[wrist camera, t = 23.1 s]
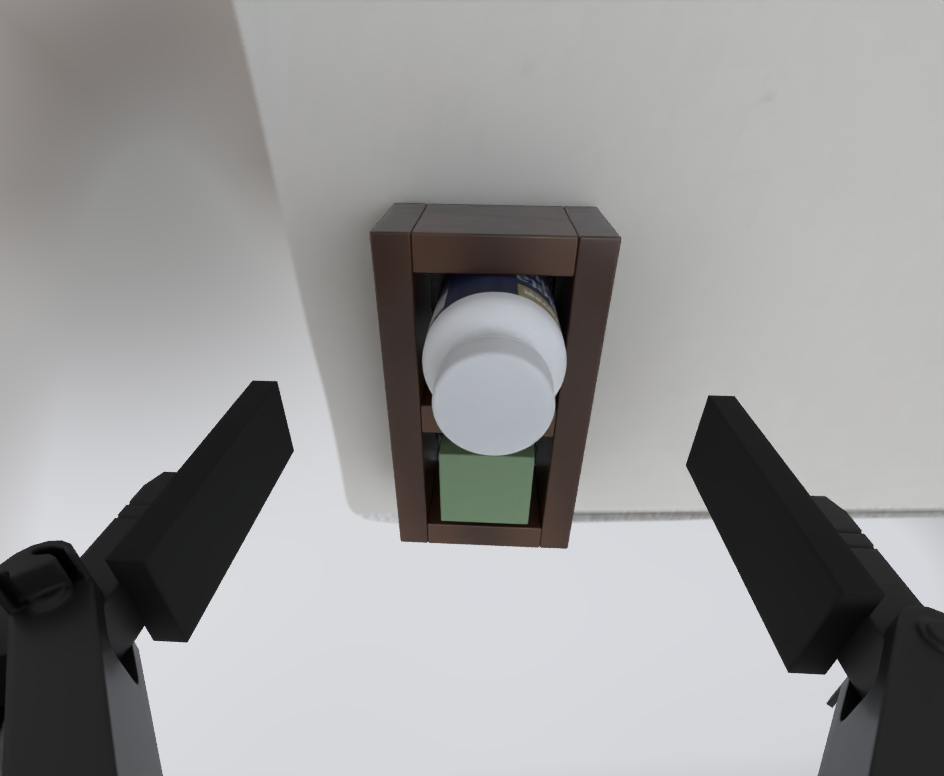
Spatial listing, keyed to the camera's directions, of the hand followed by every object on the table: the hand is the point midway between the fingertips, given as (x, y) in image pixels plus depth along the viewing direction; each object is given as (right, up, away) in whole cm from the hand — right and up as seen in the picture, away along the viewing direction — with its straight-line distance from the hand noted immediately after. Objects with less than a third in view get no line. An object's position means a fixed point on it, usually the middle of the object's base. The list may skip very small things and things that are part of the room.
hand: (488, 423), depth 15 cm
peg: (0, -1, +13) cm, 13 cm away
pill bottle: (+1, +6, +9) cm, 10 cm away
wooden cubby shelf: (0, +2, +11) cm, 11 cm away
